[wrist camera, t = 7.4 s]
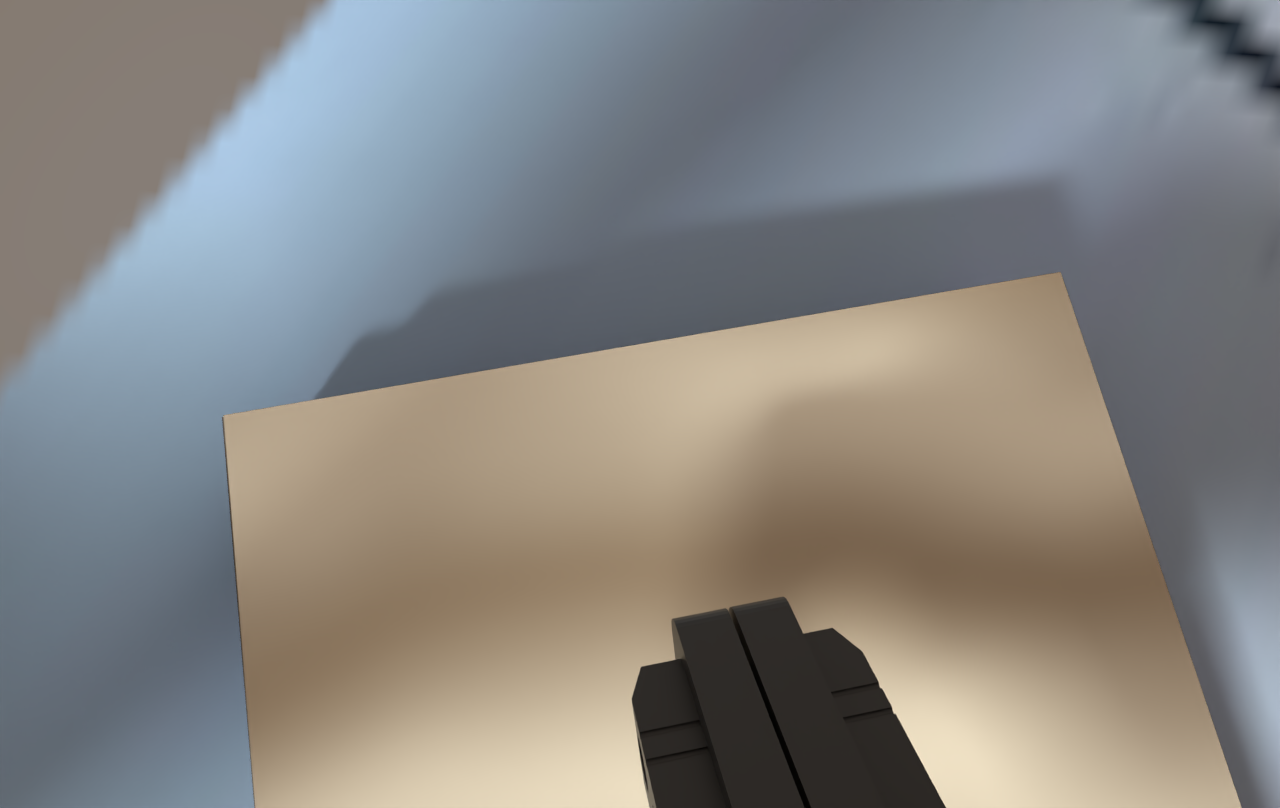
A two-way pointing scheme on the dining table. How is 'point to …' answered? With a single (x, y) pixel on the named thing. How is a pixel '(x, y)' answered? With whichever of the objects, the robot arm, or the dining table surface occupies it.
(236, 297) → the dining table surface
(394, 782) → the oak plank
